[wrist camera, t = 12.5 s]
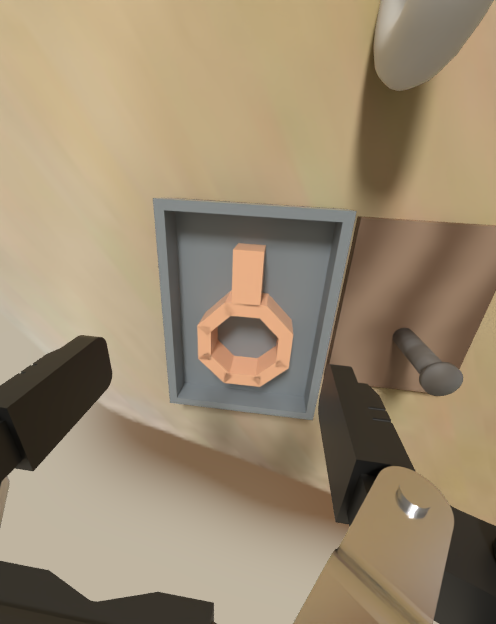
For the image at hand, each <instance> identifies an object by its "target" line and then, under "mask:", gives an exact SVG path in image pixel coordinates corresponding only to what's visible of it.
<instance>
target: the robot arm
mask: <svg viewBox="0 0 496 624" xmlns="http://www.w3.org/2000/svg"><path fill="white" fill-rule="evenodd" d="M111 379H112V369H111V364H110V359H109V353H108V348H107V343H106V341H105V339H104V338H102V337H94V336H85V335H80V336H78V337H76V338H75V339H73V340H72V341H70V342H69V343H67V344H66V345H65V346H63V347H62V348H60V349H58V350H55V351H53V352H51V353H48V354H46V355H45V356H43V357H42V358H40V359H39V360H37V361H36V362H34V363H33V365H32V366H31V365H30V366H29V367H27V368H26V369H24V370H23V371H21V374H17V375H15V376H14V377H12V378H11V379H9V380H8V381H6V382H5V383H4V384H2V385H1V386H0V526H1V522H2V517H3V512H4V508H5V502H6V498H7V493H8V489H9V479H8V477H7V475H8V474H9V473H10V472H11V471H12V470H13V469H14V468H16V469H23V470H29V471H34V470H35V469H36V468H37V466H38V465H39V464H40V463H41V462H42V461H43V460H44V459H45V457H46V456H47V455H48V454H49V453H50V452H51V451H52V450H53V449H54V448H55V447H56V445H57V444H58V443H59V442H60V441H61V440H62V439H63V437H64V436H65V435H66V434H67V433H68V432H69V431H70V429H72V427H73V426H74V425H75V424H76V423H77V422H78V421H79V420H80V419H81V418H82V416H83V415H84V414H85V413H86V412H87V411H88V410H89V409H90V408H91V406H92V405H93V404H94V403H95V402H96V401H97V400H98V399H99V398H100V396H101V395H102V394H103V393H104V392H105V391H106V390H107V388H108V387H109V385H110V383H111ZM318 415H319V422H320V428H321V435H322V441H323V447H324V453H325V459H326V465H327V472H328V478H329V484H330V490H331V496H332V502H333V509H334V515H335V520H336V522H338V523H344V524H349V526H350V528H349V530H348V531H347V533H346V535H345V537H344V539H343V541H342V542H341V544H340V546H339V547H338V549H335V551H334V552H333V553H332V555H331V556H330V558H329V560H328V561H327V563H326V565H325V567H324V568H323V570H322V572H321V574H320V576H319V578H318V579H317V581H316V583H315V585H314V587H313V589H312V590H311V592H310V594H309V596H308V597H307V599H306V601H305V603H304V605H303V606H302V608H301V610H300V612H299V614H298V616H297V617H296V619H295V621H294V623H293V624H433V620H434V621H436V622H438V623H439V624H496V526H494V525H492V524H489V523H487V522H485V521H483V520H480V519H478V518H476V517H473V516H471V515H469V514H466V513H464V512H462V511H460V510H458V509H456V508H454V507H452V506H450V505H449V503H448V501H447V500H446V498H445V497H444V495H443V494H442V493H441V491H440V490H439V489H438V488H437V487H436V486H435V485H434V484H433V483H432V482H430V481H429V480H428V479H427V478H425V477H424V476H422V475H421V474H419V473H417V472H416V471H415V469H414V467H413V465H412V463H411V461H410V459H409V457H408V455H407V453H406V451H405V449H404V446H403V444H402V442H401V440H400V438H399V436H398V434H397V432H396V430H395V428H394V426H393V424H392V423H391V419H390V417H389V415H388V413H387V411H385V407H384V405H383V403H382V401H381V398H380V396H379V395H378V394H377V393H376V392H375V391H374V390H373V389H372V388H371V387H370V386H369V385H368V384H366V383H358V381H357V379H356V376H355V374H354V371H353V369H352V367H351V366H342V365H334V364H328V365H327V367H326V370H325V375H324V379H323V384H322V389H321V393H320V398H319V406H318ZM0 624H216V623H215V622H214V603H212V602H207V601H202V600H197V599H192V598H186V597H181V596H176V595H171V594H166V593H161V592H155V593H148V594H143V595H137V596H130V597H124V598H118V599H112V600H106V601H99V602H94V601H90V600H89V599H87V598H86V597H84V596H83V595H82V594H80V593H79V592H77V591H76V590H75V589H73V588H72V587H71V586H69V585H68V584H67V583H65V582H64V581H63V580H61V579H60V578H59V577H57V576H56V575H54V574H53V573H52V572H50V571H49V570H44V569H39V568H33V567H28V566H23V565H18V564H13V563H8V562H3V561H0Z"/></svg>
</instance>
